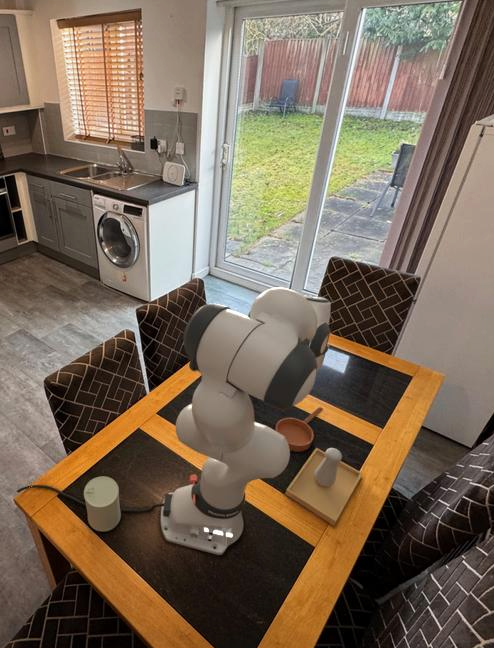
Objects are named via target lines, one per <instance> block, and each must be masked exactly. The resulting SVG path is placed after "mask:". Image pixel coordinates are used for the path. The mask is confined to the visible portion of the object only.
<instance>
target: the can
mask: <svg viewBox="0 0 494 648" xmlns="http://www.w3.org/2000/svg"><path fill="white" fill-rule="evenodd" d="M119 488H120V487H119V485H118V483H117V482H116V481H115V480H114V479H113V478H111V477H109V476H106V475H105V476H98V477H94V478H92V479H91V480H89V481H88V482H87V484H86V485H85V487H84V489H83V498H84V503H86V506H85V508H86V513H87V514H86V515H87V522H88V524H89V526H90V527H91V528H92V529H93V530H95V531H97V532H109V531H111V530H113V529H115V528H116V527H117V526H118V524H119V523H120V521H121V518H122V517H121V516H122V512H121V511H120V509H121V507H120V506H121V505H120V495H119V494H120V493H119V492H120V489H119Z"/></svg>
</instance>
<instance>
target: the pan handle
mask: <svg viewBox="0 0 494 648" xmlns="http://www.w3.org/2000/svg"><path fill="white" fill-rule="evenodd" d="M323 411H324V408H323V407H321V406H318V407H317V408H316V409H315V410H314V411H313V412H312V413H310V414H309V415H308V416H307V417H306V418H305V419H304V420H302V421H303V422H305V423H306V424H307V425H309V423H311V422H312V421H313V420H314V419H315V418H316V417H317V416H319V415H320V414H321V413H322V412H323Z"/></svg>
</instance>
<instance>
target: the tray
mask: <svg viewBox="0 0 494 648" xmlns="http://www.w3.org/2000/svg"><path fill="white" fill-rule="evenodd" d="M325 452H326V451H323V450H321V449H320V448H318V447H315V449H314V450H313V451H312V453H311V455H310V456H309V457H308V459H307V460H306V461H305V463H304V464H303V466H302V467H301V468H300V469H299V471H298V473H296V476H295V477H294V478H293V480H292V481H291V482H290V484H289V485H288V487H287V488H286V490H285V492H284V495H285V496H287V497H288V498H290V499H291V500H293V501H294V502H296V503H298V504H299V505H301V507H304V508H305V509H307V510H308V511H310V512H311V513H313V514H314V515H316V516H318V517H319V518H320V519H322V520H323V521H325V522H327V523H328V524H329V525H331V526H332V527H334V526H335V525H336V523H337V521H339V518H340V516H341V514H342V512H343V511H344V509H345V507H346V505H347V503H348V502H349V500H350V498H351V496H352V495H353V493H354V490H355V489H356V487H357V485H358V483H359V482H360V480H361V478H362V476H363V474H364V473H363V472H361V471H359V470H358V469H356V468H354V467H352V466H350V465H349V464H347V463H345V462H343V461H342V460H341V461H340V462H339V463H338V466H337V474H336V480H335V483H334V484H332V485H331V486H328V487H324V486H320V485H319V484H318V483H317V482H316V479H315V475H314V473H315V470H316V469H317V467H318V466H319V465H320V464H321V462H322V461H323V460H324V458H325Z"/></svg>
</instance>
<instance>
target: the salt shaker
mask: <svg viewBox="0 0 494 648" xmlns="http://www.w3.org/2000/svg"><path fill="white" fill-rule="evenodd" d="M324 452H325V458H324V460H323V461H322V462H321V464H320V465H319V466H318V467H317V469H316V470H315V473H314V475H315V479H316V482H317V483H318V484H319V485H320V486H324V487H328V486H331V485H332V484H334V483H335V480H336V474H337V466H338V463H339V462H340V461H341V462H342V459H343V455H342V453H341V451H340V450H339V449H337V448H334V447H329V448H327V449H326V450H325V451H324Z"/></svg>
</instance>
